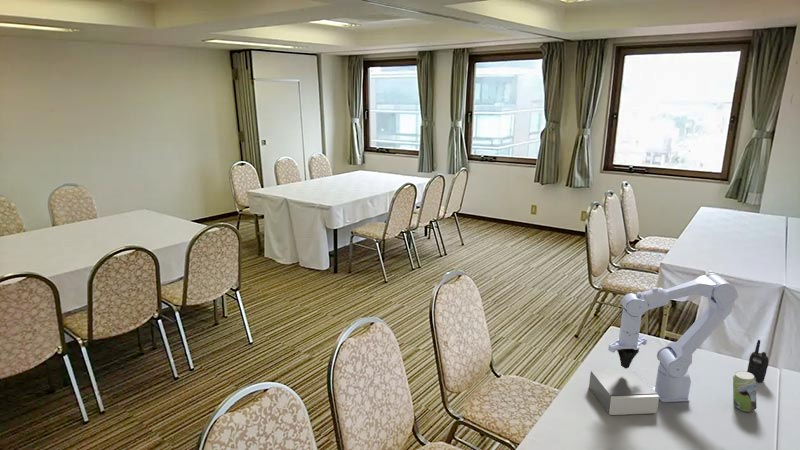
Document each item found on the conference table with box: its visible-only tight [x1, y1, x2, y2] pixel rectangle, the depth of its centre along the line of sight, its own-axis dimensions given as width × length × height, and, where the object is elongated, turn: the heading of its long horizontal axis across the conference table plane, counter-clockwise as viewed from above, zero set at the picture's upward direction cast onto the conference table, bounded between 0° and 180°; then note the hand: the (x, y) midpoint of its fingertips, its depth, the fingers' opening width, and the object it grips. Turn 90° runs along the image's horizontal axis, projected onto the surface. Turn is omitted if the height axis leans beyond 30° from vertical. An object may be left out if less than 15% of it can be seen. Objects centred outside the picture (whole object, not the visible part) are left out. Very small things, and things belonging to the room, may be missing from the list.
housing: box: [588, 368, 657, 414], centre depth 157 cm, size 15×14×6 cm
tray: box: [608, 395, 660, 416], centre depth 156 cm, size 15×14×6 cm
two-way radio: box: [746, 339, 769, 384], centre depth 167 cm, size 6×4×15 cm
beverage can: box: [732, 370, 758, 412], centre depth 152 cm, size 6×7×12 cm
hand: (624, 366), depth 160 cm, fingers closed
